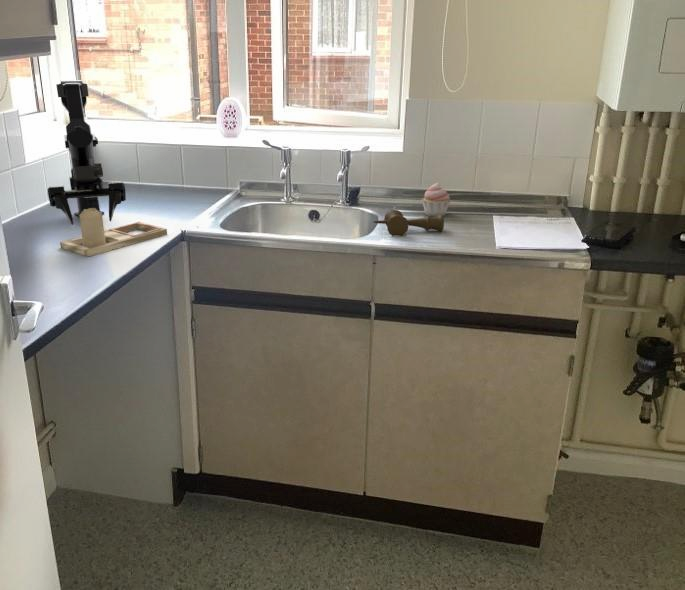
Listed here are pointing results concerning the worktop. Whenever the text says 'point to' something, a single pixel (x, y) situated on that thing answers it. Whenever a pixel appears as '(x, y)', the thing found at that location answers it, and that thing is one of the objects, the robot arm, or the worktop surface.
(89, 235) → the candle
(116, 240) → the rail frame
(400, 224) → the kendama
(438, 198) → the cupcake
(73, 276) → the worktop surface
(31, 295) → the worktop surface
